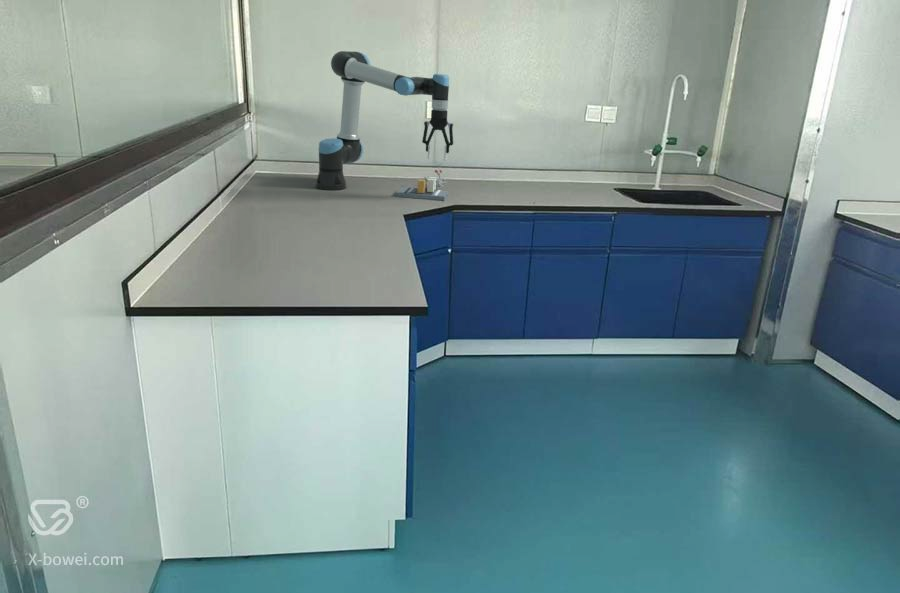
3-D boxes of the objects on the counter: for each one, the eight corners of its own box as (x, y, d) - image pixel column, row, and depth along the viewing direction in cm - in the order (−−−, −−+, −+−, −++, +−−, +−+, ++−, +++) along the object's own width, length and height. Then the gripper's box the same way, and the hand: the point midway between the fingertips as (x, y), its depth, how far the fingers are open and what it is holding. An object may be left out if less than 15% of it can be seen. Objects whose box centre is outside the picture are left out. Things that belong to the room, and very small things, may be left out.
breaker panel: (395, 196, 307) (396, 179, 304) (401, 190, 320) (402, 174, 317) (444, 200, 305) (445, 183, 302) (448, 194, 318) (449, 178, 315)
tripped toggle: (417, 192, 307) (418, 180, 304) (418, 191, 309) (419, 179, 307) (423, 193, 306) (424, 181, 304) (424, 192, 309) (425, 179, 307)
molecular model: (436, 194, 320) (436, 174, 316) (419, 192, 324) (418, 173, 320) (453, 186, 336) (453, 168, 332) (436, 185, 340) (436, 166, 336)
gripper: (416, 108, 291) (414, 158, 299) (459, 111, 288) (456, 162, 297) (419, 107, 297) (417, 156, 306) (461, 110, 295) (458, 159, 304)
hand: (437, 159), depth 301 cm, fingers open, 7 cm apart
